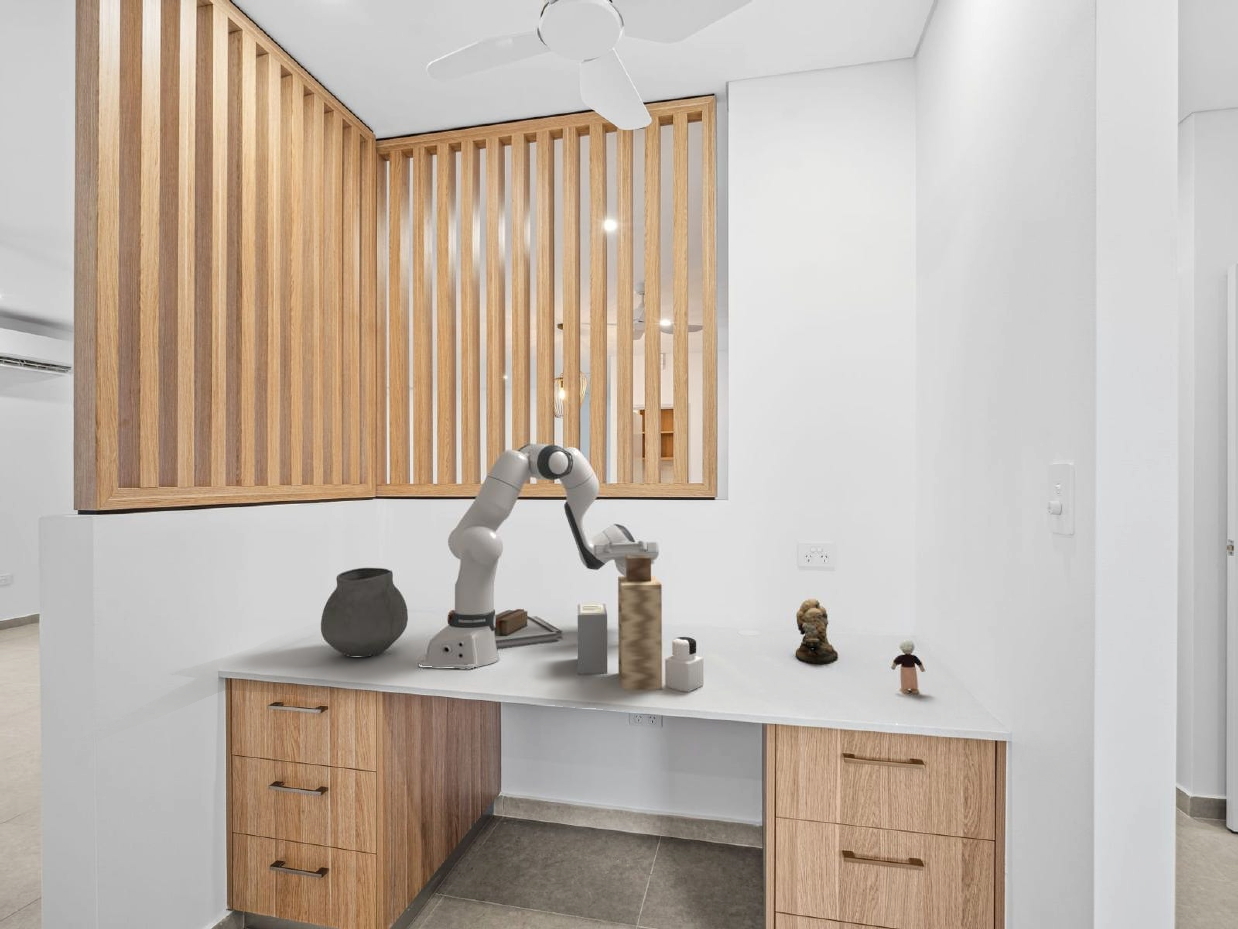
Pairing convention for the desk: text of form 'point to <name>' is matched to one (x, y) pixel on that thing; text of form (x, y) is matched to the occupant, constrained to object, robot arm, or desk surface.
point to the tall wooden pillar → (640, 634)
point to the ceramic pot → (364, 612)
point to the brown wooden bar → (638, 568)
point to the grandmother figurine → (908, 667)
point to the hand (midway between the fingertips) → (625, 544)
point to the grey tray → (523, 630)
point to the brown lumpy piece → (814, 634)
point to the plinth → (592, 638)
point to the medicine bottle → (684, 666)
